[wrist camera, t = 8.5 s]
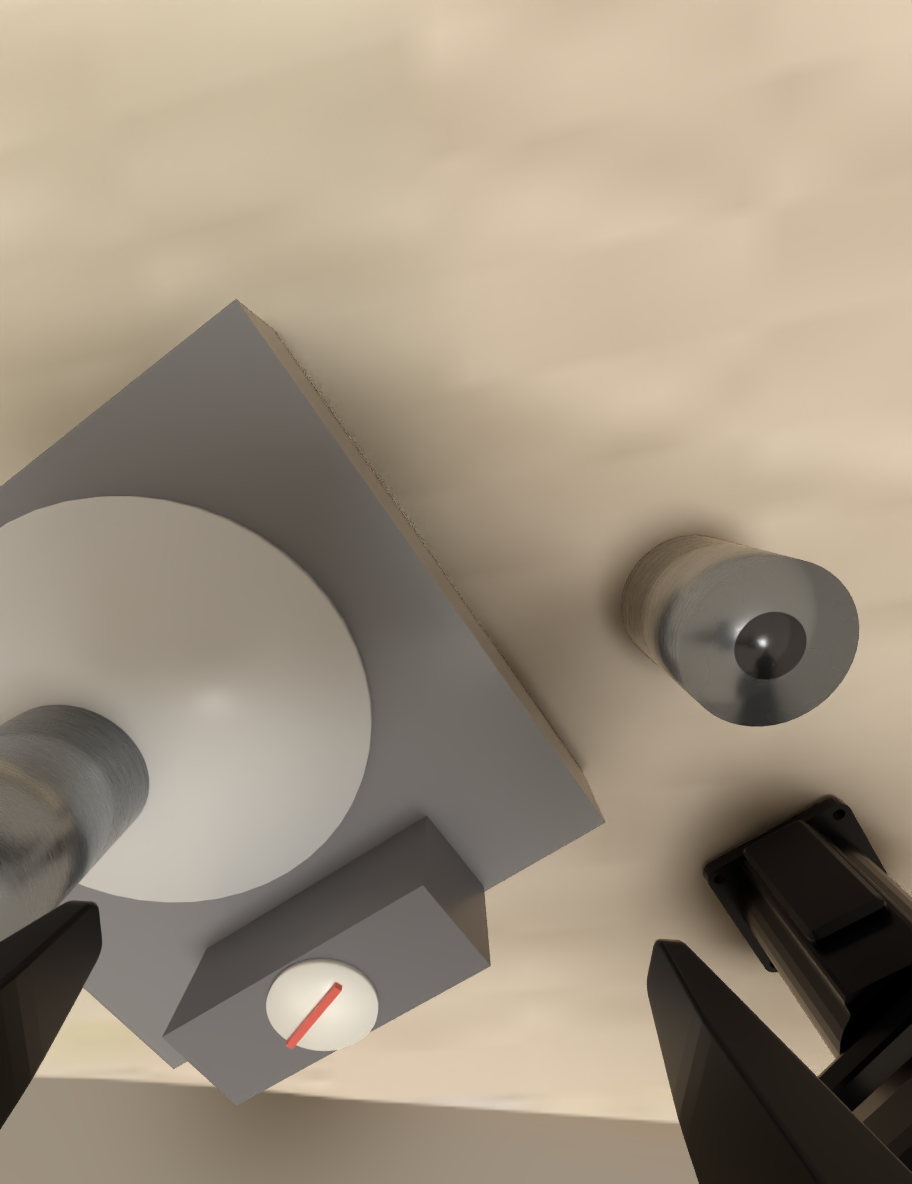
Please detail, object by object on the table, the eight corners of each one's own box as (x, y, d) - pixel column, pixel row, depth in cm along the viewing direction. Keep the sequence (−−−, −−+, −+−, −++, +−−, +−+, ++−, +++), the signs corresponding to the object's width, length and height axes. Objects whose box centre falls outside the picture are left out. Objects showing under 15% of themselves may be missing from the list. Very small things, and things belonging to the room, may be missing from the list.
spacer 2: (775, 617, 19) (888, 667, 14) (660, 686, 20) (731, 757, 15) (715, 508, 18) (814, 522, 13) (596, 584, 19) (650, 624, 14)
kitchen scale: (582, 772, 20) (641, 902, 14) (208, 992, 23) (119, 1186, 17) (273, 329, 16) (168, 243, 10) (-142, 653, 19) (-432, 742, 13)
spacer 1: (69, 865, 17) (-84, 1024, 12) (-43, 758, 16) (-259, 884, 11) (181, 791, 16) (68, 927, 12) (72, 675, 15) (-103, 769, 11)
